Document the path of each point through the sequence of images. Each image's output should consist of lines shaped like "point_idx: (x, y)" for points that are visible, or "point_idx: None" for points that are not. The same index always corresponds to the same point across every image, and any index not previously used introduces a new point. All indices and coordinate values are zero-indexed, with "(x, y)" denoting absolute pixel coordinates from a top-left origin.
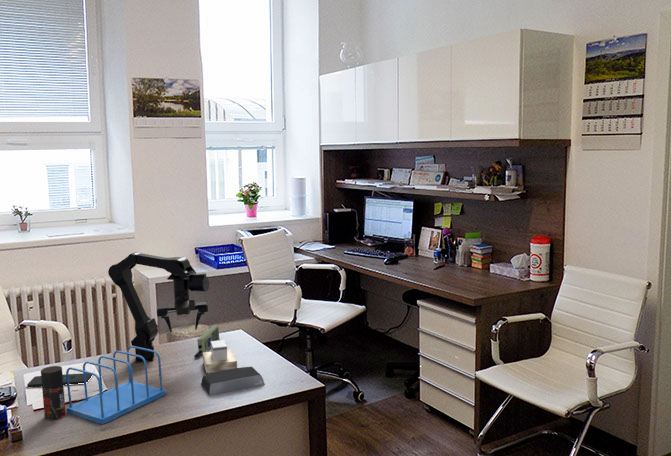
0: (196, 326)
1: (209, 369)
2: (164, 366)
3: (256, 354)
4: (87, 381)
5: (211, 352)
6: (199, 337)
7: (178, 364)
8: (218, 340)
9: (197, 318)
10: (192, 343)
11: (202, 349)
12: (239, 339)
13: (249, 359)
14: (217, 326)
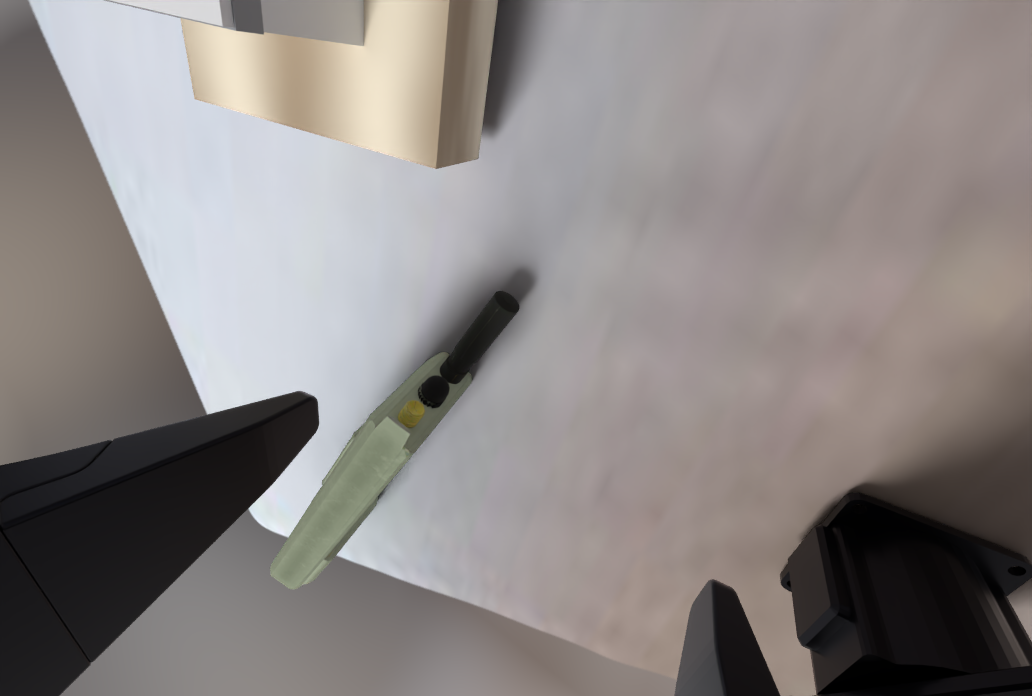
0: (246, 413)
1: None
2: (851, 284)
3: (140, 109)
4: None
5: (345, 21)
6: (389, 467)
7: (698, 252)
8: (135, 5)
9: (12, 500)
10: (465, 552)
11: (430, 372)
12: None
13: None
14: (275, 559)
